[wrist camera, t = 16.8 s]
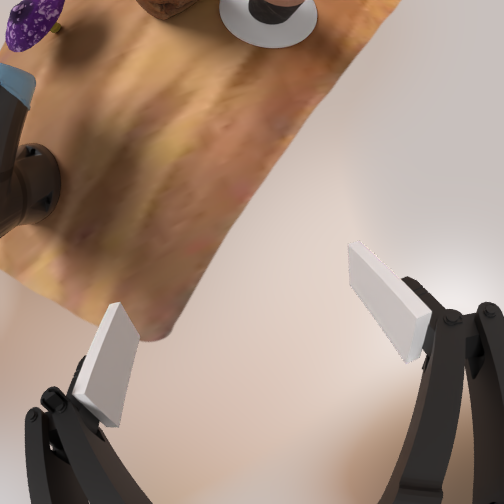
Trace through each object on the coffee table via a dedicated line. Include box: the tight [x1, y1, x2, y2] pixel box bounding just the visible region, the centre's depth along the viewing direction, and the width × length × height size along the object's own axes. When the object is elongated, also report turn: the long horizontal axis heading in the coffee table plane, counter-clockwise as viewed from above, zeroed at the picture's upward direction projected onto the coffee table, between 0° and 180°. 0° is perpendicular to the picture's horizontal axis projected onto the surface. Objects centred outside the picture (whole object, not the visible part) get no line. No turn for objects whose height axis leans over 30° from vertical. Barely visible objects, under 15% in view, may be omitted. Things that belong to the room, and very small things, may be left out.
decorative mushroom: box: [6, 0, 65, 52], centre depth 19 cm, size 12×12×15 cm
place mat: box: [219, 0, 317, 48], centre depth 30 cm, size 16×16×1 cm
